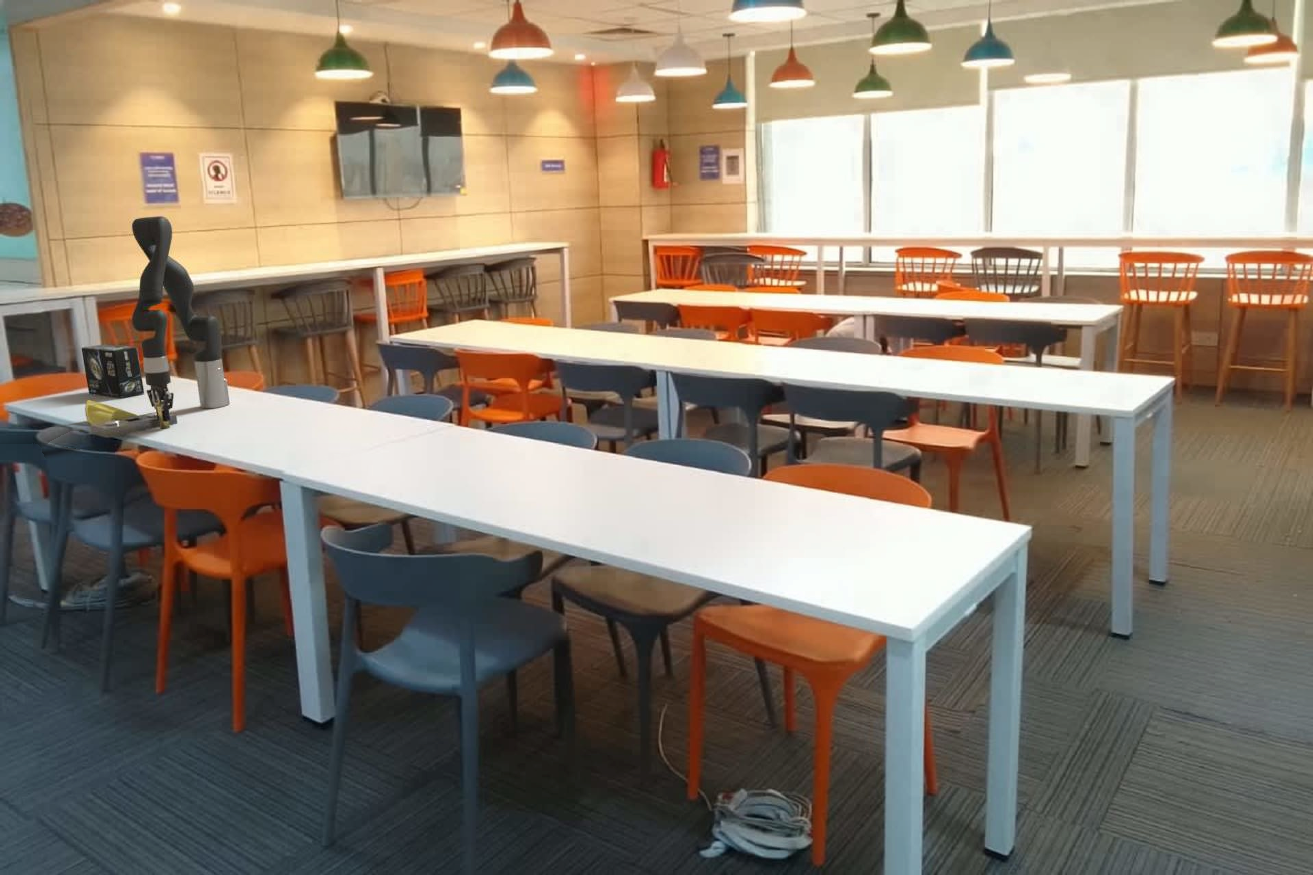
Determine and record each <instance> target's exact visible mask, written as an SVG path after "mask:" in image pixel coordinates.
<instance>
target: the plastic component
mask: <svg viewBox="0 0 1313 875" xmlns="http://www.w3.org/2000/svg"><path fill="white" fill-rule="evenodd" d="M84 412H85V417H86V420H87V421H88V422H89V424H90V425H91V424H97V423H102V422H106V421H111V420H118V419H123V418H128V417H133V416H138V414H136V413H133V412H129V411H126V410H123V409H121V408H118V407H114V406H111V405H108V404H104V403H101V402H97V401H94V400H91V399H90V400H89V399H88V400H86V402H85V408H84Z"/></svg>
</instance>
